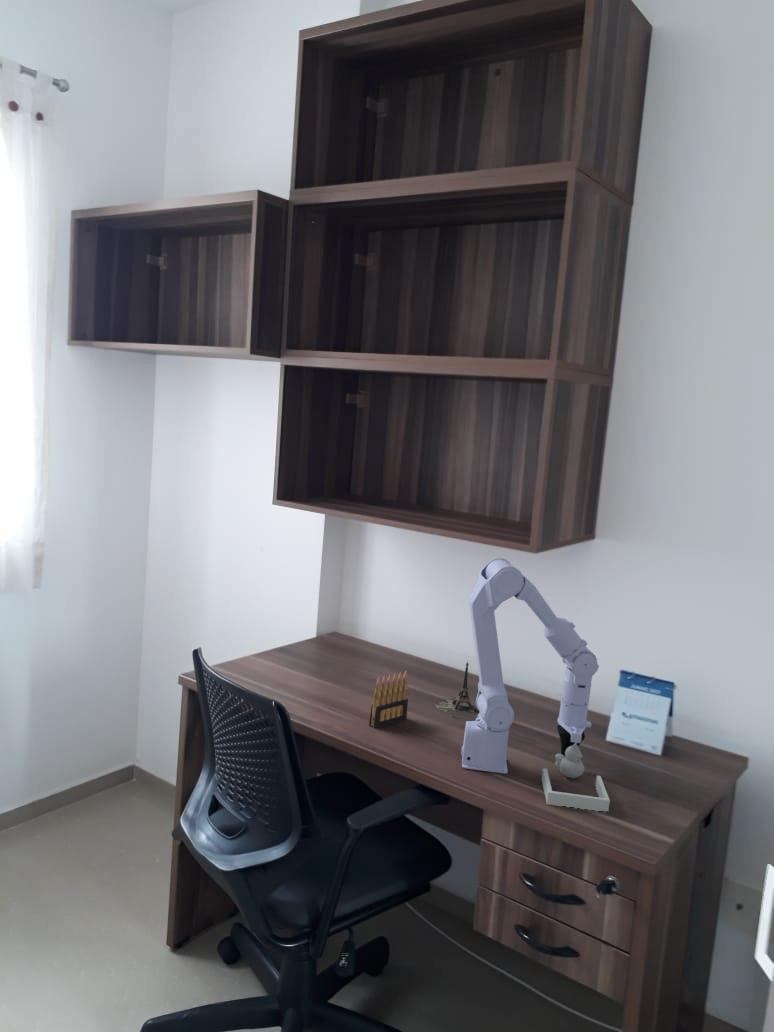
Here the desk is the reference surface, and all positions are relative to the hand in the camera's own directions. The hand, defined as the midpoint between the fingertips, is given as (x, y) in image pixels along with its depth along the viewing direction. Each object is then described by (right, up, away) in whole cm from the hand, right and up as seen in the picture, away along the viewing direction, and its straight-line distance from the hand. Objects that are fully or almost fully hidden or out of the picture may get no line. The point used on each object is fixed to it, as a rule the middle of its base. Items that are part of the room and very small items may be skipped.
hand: (566, 761), depth 176 cm
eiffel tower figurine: (-20, +4, +31) cm, 37 cm away
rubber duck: (0, -2, -3) cm, 4 cm away
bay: (-1, -3, -12) cm, 13 cm away
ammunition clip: (-39, +4, +16) cm, 42 cm away
